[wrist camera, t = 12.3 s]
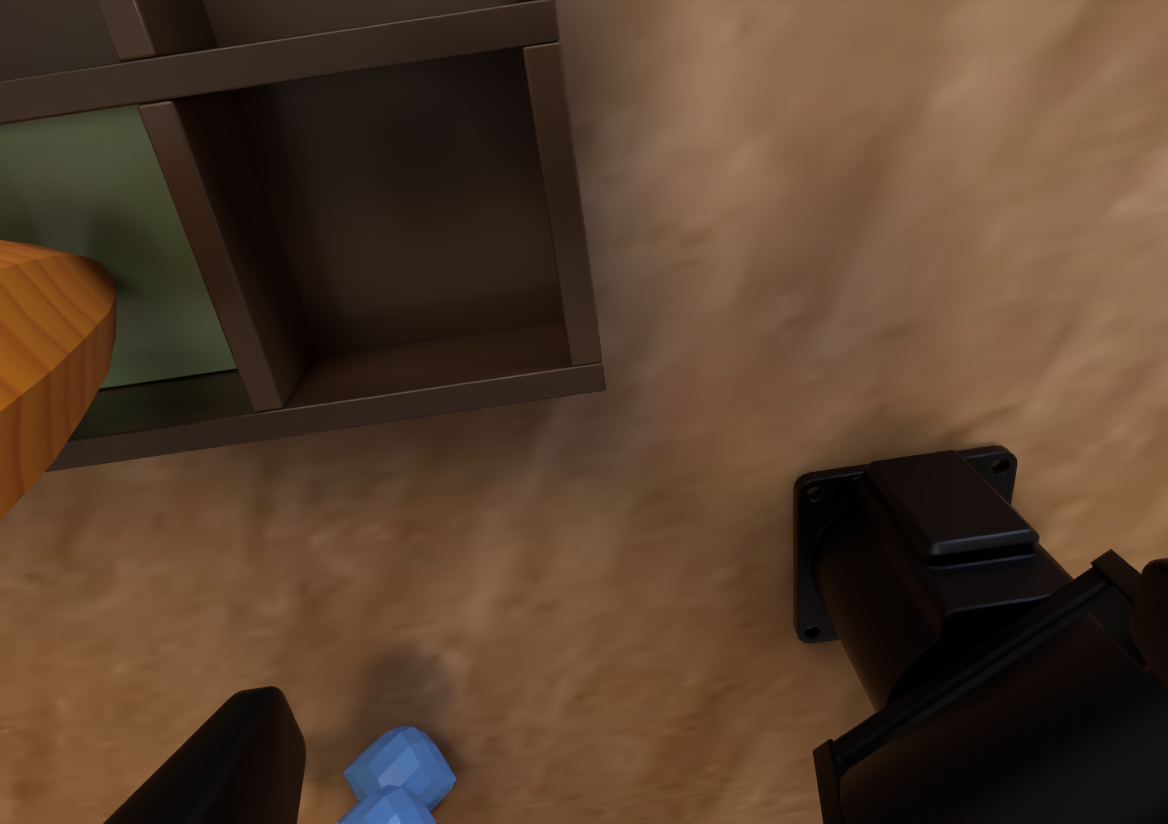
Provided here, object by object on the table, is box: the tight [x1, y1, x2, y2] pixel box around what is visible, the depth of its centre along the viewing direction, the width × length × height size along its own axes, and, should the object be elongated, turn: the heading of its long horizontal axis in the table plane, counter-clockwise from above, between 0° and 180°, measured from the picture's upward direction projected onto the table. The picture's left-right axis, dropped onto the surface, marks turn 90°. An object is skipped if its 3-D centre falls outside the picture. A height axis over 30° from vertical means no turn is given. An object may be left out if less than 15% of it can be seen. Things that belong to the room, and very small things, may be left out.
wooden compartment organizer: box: [0, 0, 606, 472], centre depth 15 cm, size 15×22×4 cm
